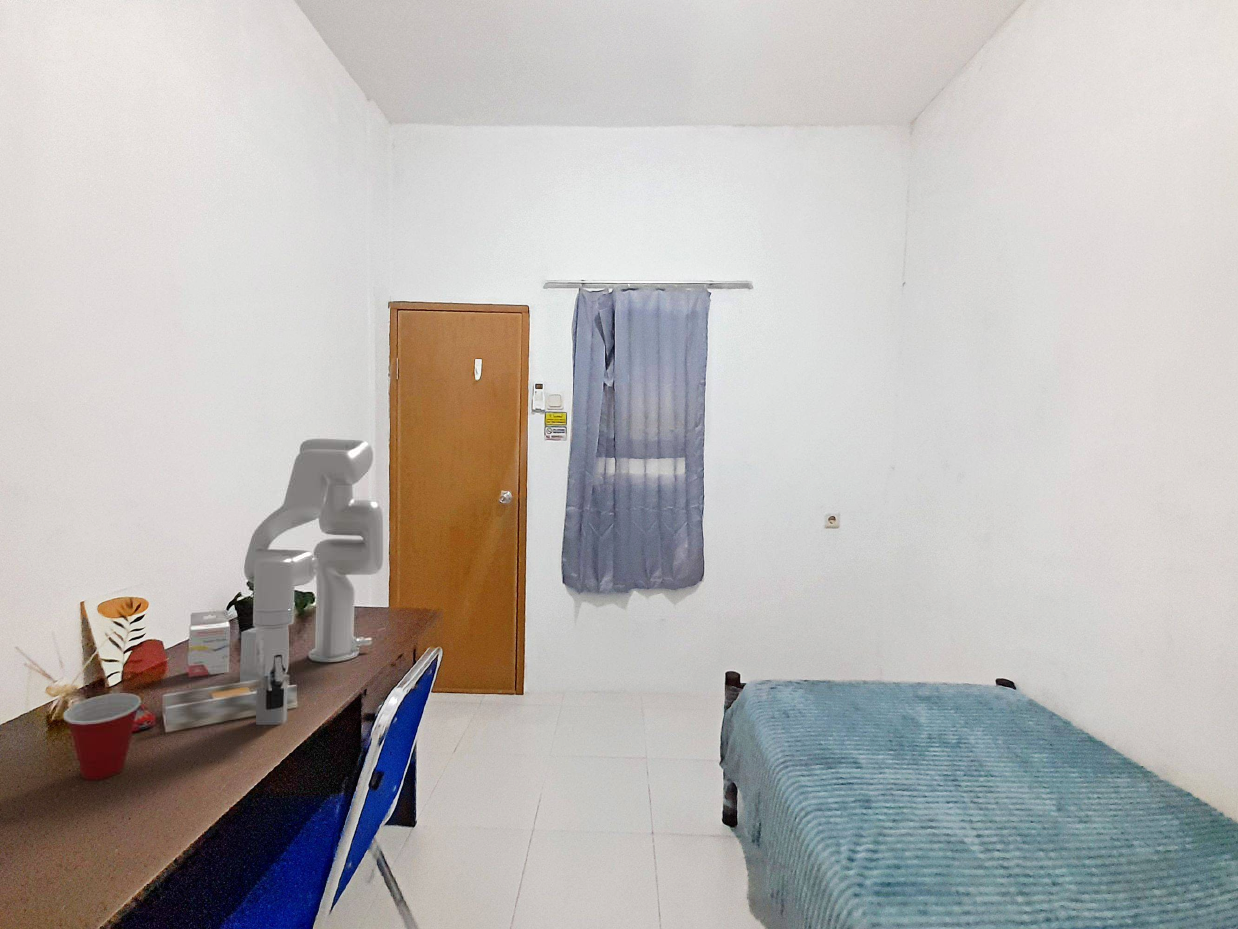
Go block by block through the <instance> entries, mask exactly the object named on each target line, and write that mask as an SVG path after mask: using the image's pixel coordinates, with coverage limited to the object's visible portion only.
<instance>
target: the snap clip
mask: <svg viewBox="0 0 1238 929" xmlns="http://www.w3.org/2000/svg"><path fill="white" fill-rule="evenodd" d="M244 693H250V690H249V688H248V687H244V688H238V689H232V690H226V691H220V692H214V693H211V699H215V698H221V697H226V696H232V695H238V694H244Z"/></svg>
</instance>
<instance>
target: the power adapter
mask: <svg viewBox="0 0 1238 929" xmlns="http://www.w3.org/2000/svg"><path fill="white" fill-rule="evenodd" d="M271 679H272V681H273V680H274V679H275V677H272V678H271ZM283 680H284V675H283ZM287 688H288V685H284V706H283V707H281V708H276V709H271V710H267V709H266V690H268V677H267V676H265V677H262V676H261V686H260V687H258V688H257V698H256V715H255V724H256V725H257V726H259V725H263V726H265V725H267V726H268V725H269V726H270V725H275V726H276V725H282V724H284V723H285V722H286V721H287V719H288V709H287Z"/></svg>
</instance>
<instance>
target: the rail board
mask: <svg viewBox="0 0 1238 929" xmlns="http://www.w3.org/2000/svg"><path fill="white" fill-rule="evenodd" d="M284 685H288V688H287V710H290V709H291V710H292V709H295V708H298V696H297V695H298V686H297V684H292V685H290V674H286V675H284ZM260 686H261V679H258V680H251V681H245V682H240V681H239V682H234V683H228V684H221V685H216V686H208V687H203V688H196V689H191V690H185V691H178V692H172V693H167V694H162V709H161V711H162V712H161V717H162V721H163V725H164V731H165V733H170V732H174V731H180V730H181V731H182V730H187V729H190V728H196V727H197V728H198V727H201V726H207V725H211V724H217V723H222V722H228V721H233V720H238V719H243V718H247V717H253V716H256V698H257V688H258V687H260ZM244 687H248V688H249V690H250V693H244V694H238V695H232V696H226V697H221V698H215V699H211V693H214V692H220V691H226V690H232V689H238V688H244Z"/></svg>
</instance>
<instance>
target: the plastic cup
mask: <svg viewBox="0 0 1238 929" xmlns="http://www.w3.org/2000/svg"><path fill="white" fill-rule="evenodd" d="M141 704H142V699H141V696H139V695H137V694H134V693H125V692H120V693H108V694H103V695H99V696H93V697H90V698H88V699H83V700H80V701H79V702H77V703H75V704H73V705H71V706H69V707H68V708H67V709H66V710H65V711H64V712H63V713H62V714H63V715H62V716H63V720H64V721H65V722H67V725H68V727H69V728H70V732H71V734H72V740H73V744H74V747H75V752H76V753H75V754H76V756H77V761H78V762H79V768H80V775H82V779H84V780H86V781H99V780H104V779H108V778H110V777H114V776H116V775H117V774H119V773H121V772H122V771H123V769H125V768H124V767H125V766H126V765H125V764H126V761H127V760H126V759H127V756H128V751H129V749H130V748H129V747H130V743H131V738H132V733H133V732H132V729H133V724H134V720H135V717H136V713H137V709H138V707H139V705H141Z"/></svg>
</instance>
